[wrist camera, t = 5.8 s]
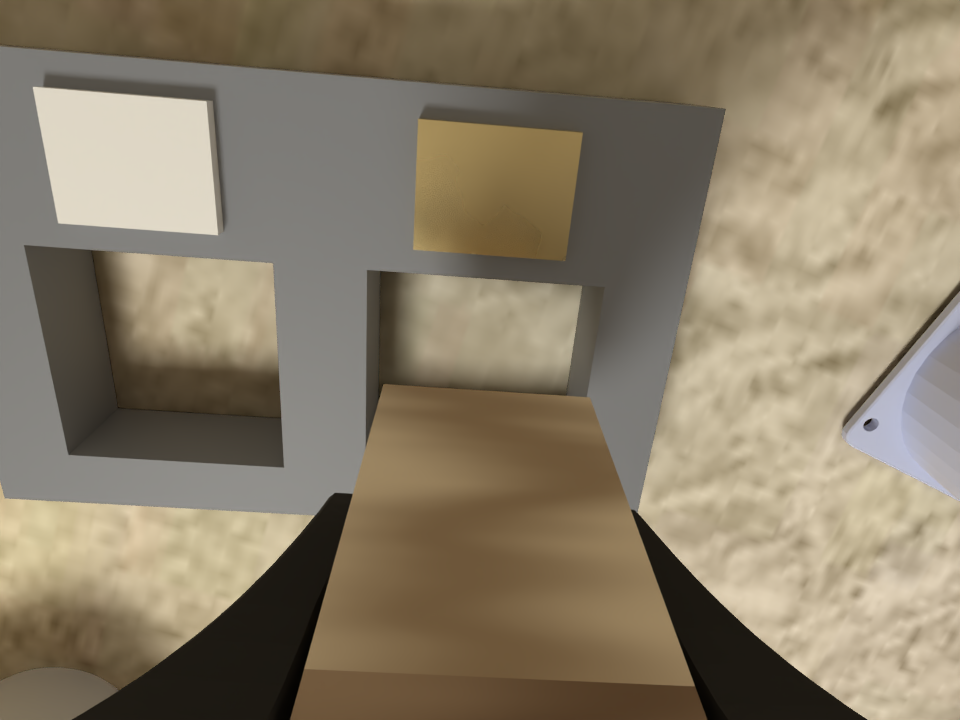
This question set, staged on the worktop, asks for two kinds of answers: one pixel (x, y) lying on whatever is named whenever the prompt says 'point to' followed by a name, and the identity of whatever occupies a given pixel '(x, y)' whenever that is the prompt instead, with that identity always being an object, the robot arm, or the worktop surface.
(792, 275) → the worktop surface
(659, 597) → the plug
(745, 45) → the worktop surface
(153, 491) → the socket board
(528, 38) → the worktop surface
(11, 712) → the lumpy-topped squat cylinder
